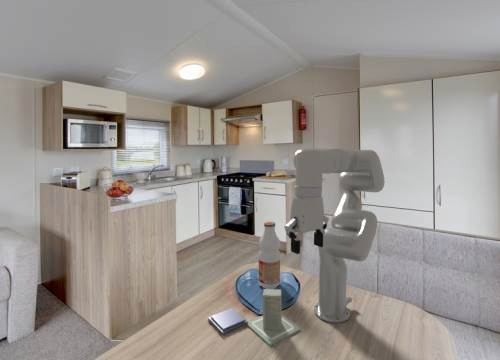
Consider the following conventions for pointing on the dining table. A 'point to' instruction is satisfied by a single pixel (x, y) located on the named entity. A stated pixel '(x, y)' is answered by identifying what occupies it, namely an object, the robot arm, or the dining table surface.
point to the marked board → (273, 335)
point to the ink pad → (227, 321)
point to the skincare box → (272, 309)
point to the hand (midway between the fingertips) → (307, 249)
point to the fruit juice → (269, 257)
